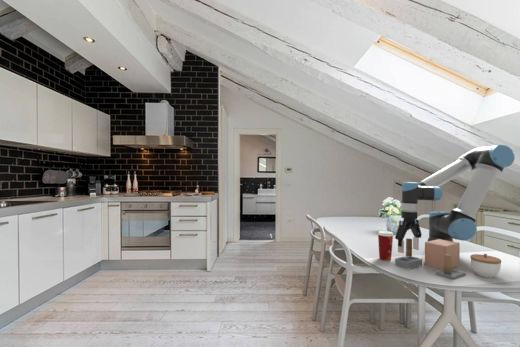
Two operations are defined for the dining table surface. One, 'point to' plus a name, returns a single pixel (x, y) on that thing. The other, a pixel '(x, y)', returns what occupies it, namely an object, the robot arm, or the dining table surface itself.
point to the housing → (441, 252)
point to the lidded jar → (485, 265)
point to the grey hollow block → (408, 262)
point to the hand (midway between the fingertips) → (408, 251)
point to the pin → (408, 247)
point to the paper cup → (385, 244)
